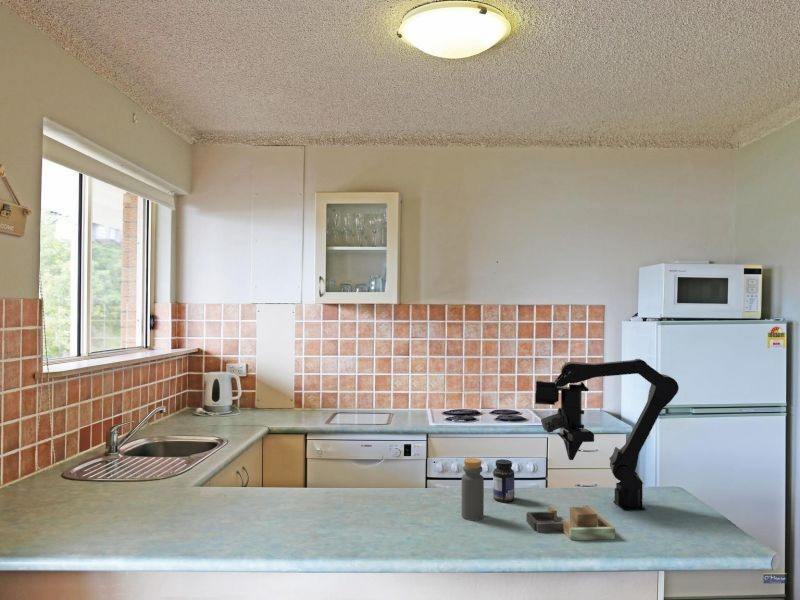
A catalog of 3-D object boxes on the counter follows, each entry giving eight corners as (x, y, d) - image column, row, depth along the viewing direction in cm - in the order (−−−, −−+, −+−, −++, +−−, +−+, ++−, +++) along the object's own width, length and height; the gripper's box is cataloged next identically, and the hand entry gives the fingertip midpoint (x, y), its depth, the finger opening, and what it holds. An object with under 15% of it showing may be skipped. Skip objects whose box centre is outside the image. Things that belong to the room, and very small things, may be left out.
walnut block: (588, 526, 146) (588, 507, 146) (597, 534, 141) (597, 514, 141) (569, 527, 145) (569, 507, 145) (577, 534, 140) (577, 514, 140)
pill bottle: (513, 496, 168) (513, 458, 168) (515, 503, 162) (515, 464, 162) (492, 495, 169) (492, 458, 169) (493, 502, 163) (493, 463, 163)
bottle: (458, 518, 150) (458, 461, 151) (466, 511, 156) (466, 456, 156) (479, 522, 148) (479, 464, 148) (486, 514, 153) (486, 459, 153)
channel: (587, 514, 154) (587, 505, 154) (614, 538, 138) (614, 528, 138) (522, 516, 152) (522, 506, 152) (542, 540, 136) (542, 530, 136)
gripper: (533, 400, 173) (533, 451, 173) (555, 411, 155) (555, 469, 154) (569, 400, 174) (569, 451, 174) (595, 411, 155) (594, 468, 155)
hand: (570, 459), depth 164 cm, fingers closed
